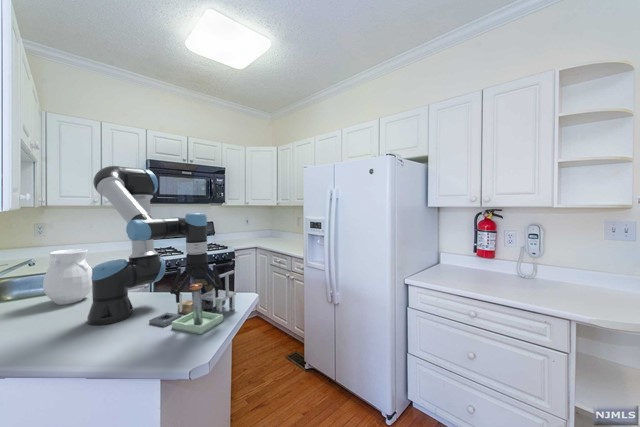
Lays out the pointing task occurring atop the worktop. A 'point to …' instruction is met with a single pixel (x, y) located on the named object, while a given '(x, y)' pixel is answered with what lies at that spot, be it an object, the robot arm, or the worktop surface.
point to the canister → (205, 282)
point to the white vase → (68, 276)
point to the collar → (160, 319)
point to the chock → (186, 307)
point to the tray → (188, 325)
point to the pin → (197, 303)
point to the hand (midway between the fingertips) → (198, 308)
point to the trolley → (219, 297)
